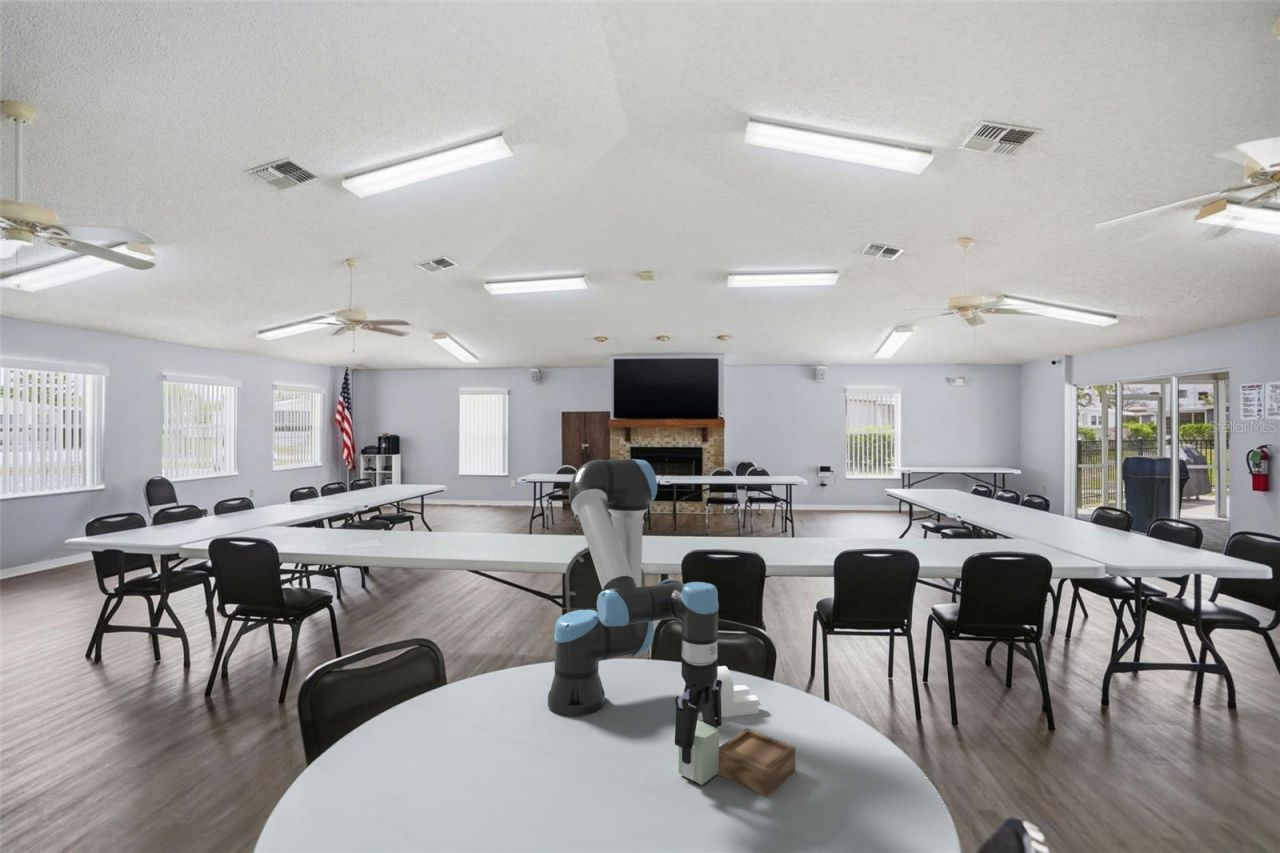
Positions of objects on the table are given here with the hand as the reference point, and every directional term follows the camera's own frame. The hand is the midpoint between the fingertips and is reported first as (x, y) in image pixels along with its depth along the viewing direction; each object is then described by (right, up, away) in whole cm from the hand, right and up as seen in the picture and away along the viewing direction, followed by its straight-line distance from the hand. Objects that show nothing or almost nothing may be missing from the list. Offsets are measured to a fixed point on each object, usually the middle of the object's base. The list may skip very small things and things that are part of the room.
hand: (698, 770), depth 121 cm
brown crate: (+12, -1, +1) cm, 12 cm away
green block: (0, 0, 0) cm, 0 cm away
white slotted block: (+9, -2, +30) cm, 32 cm away
